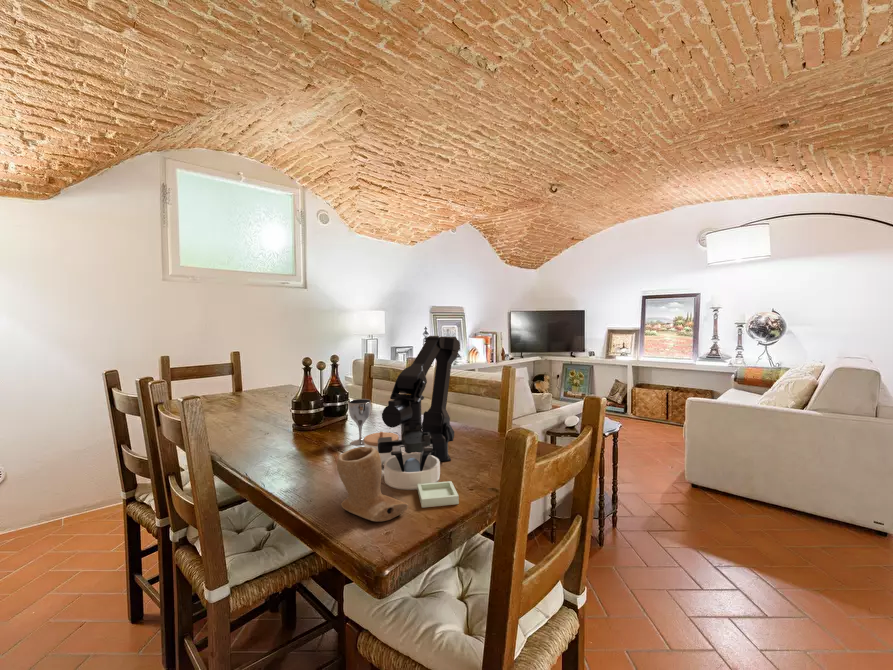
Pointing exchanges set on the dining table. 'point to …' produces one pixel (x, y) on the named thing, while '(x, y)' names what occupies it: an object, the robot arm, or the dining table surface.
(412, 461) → the ball
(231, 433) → the dining table surface
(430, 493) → the tray
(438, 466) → the bowl
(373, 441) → the lidded jar
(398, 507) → the tan boot vase
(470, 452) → the dining table surface
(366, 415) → the wine glass
